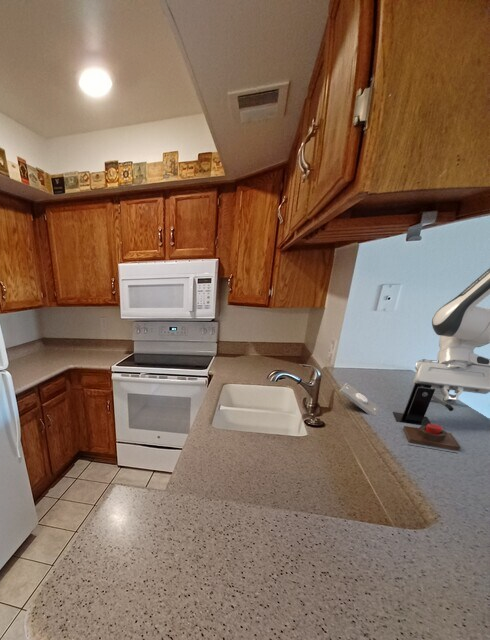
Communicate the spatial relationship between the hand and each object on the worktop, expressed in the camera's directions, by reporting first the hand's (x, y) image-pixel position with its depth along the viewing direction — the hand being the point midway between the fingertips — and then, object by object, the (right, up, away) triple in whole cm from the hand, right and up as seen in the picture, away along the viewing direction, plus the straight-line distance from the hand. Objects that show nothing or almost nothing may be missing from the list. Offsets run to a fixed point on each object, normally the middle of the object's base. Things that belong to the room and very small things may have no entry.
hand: (450, 401), depth 103 cm
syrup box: (+12, +2, +23) cm, 26 cm away
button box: (-11, -13, -5) cm, 18 cm away
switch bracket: (-7, -6, +7) cm, 12 cm away
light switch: (-20, -2, +16) cm, 26 cm away
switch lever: (-5, 0, +2) cm, 5 cm away
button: (-11, -10, -7) cm, 16 cm away
